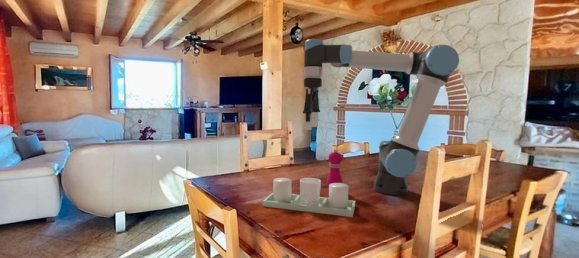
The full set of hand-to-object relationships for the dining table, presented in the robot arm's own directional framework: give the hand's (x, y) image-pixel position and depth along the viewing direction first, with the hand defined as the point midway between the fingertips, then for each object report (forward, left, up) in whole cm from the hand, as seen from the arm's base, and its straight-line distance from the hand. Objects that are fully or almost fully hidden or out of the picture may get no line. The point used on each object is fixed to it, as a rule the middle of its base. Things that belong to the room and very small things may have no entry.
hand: (311, 128), depth 133 cm
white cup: (-4, +17, -28) cm, 33 cm away
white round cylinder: (-14, +17, -28) cm, 36 cm away
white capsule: (+7, +17, -28) cm, 33 cm away
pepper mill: (-10, -4, -29) cm, 31 cm away
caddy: (-3, +17, -29) cm, 34 cm away
